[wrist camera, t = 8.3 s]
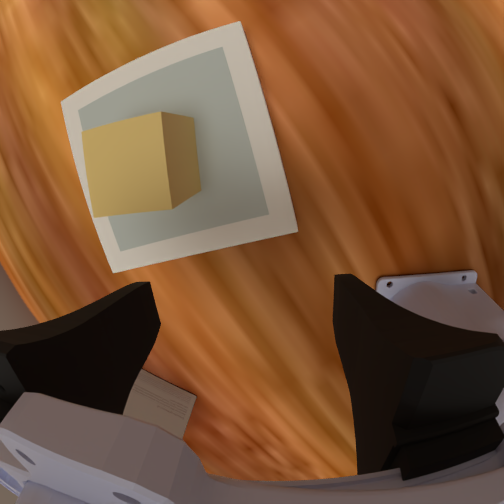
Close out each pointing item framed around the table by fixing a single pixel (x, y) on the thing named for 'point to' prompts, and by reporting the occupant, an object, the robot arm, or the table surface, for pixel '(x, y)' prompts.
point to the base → (208, 149)
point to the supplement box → (160, 403)
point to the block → (141, 164)
